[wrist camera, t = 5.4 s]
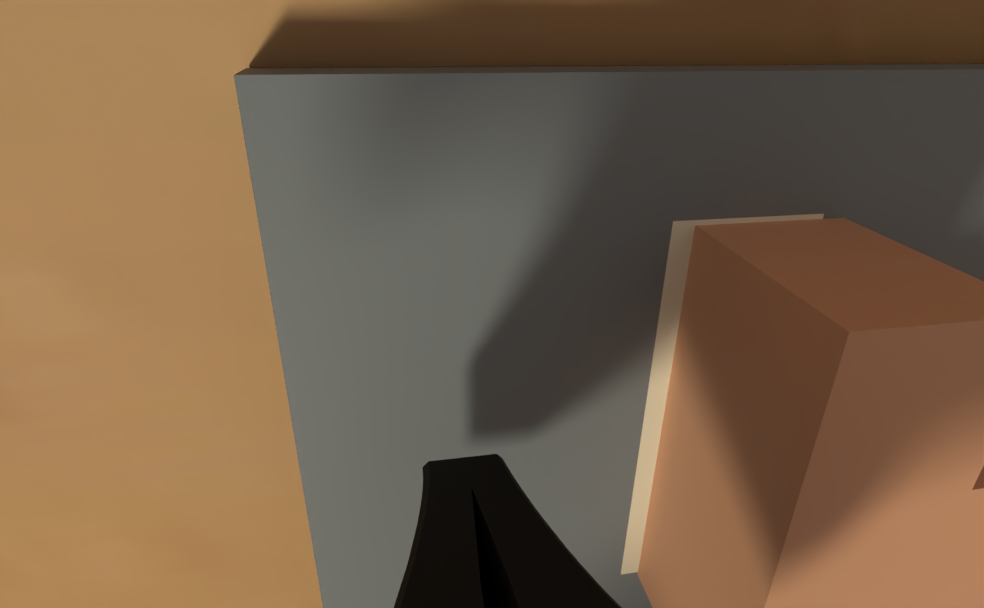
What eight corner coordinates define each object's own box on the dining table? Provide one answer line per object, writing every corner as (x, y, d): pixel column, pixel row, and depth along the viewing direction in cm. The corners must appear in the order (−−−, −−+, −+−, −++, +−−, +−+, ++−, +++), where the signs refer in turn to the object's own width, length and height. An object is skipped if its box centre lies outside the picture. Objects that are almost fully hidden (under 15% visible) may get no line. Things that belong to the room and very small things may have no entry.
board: (875, 643, 20) (898, 673, 19) (352, 738, 17) (351, 777, 17) (1134, 62, 12) (1194, 67, 11) (246, 68, 9) (234, 75, 9)
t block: (637, 574, 15) (719, 752, 11) (694, 225, 11) (849, 331, 7) (953, 527, 16) (1113, 672, 13) (1106, 203, 12) (1398, 284, 9)
